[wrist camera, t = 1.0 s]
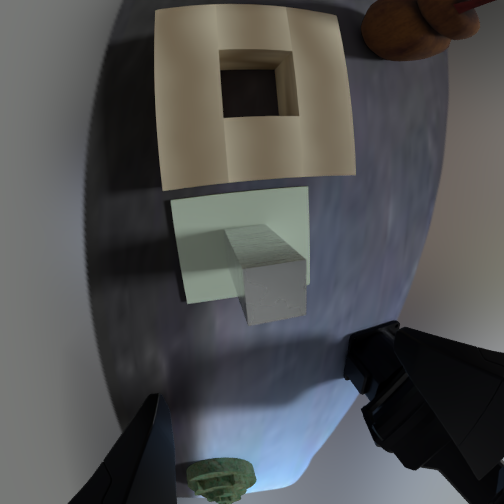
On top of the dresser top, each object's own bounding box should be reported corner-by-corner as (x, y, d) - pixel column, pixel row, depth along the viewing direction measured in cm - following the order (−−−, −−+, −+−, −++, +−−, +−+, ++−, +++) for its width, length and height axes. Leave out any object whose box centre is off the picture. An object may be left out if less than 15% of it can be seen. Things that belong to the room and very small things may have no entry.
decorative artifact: (193, 484, 31) (253, 477, 33) (198, 518, 25) (263, 510, 27) (179, 459, 28) (251, 452, 30) (182, 501, 22) (262, 492, 24)
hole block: (314, 35, 16) (336, 15, 13) (328, 172, 20) (355, 175, 17) (161, 35, 14) (155, 10, 11) (169, 186, 18) (162, 191, 15)
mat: (305, 186, 20) (307, 186, 20) (307, 282, 23) (309, 284, 22) (171, 199, 19) (170, 200, 18) (187, 301, 21) (187, 303, 21)
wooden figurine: (364, 68, 18) (508, 23, 4) (340, 15, 16) (457, -59, 2) (413, 67, 19) (537, 45, 5) (392, 19, 17) (502, -24, 3)
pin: (264, 223, 20) (306, 259, 13) (267, 262, 21) (306, 314, 14) (223, 228, 20) (242, 269, 12) (228, 267, 21) (248, 325, 13)
